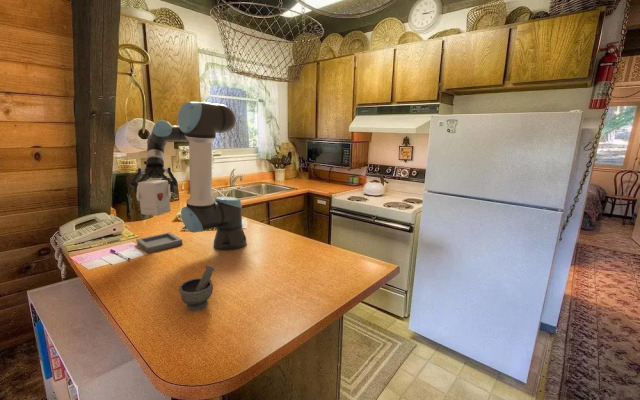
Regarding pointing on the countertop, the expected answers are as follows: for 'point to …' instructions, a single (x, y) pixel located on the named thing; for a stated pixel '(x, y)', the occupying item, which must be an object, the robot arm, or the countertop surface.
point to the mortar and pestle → (197, 290)
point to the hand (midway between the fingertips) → (154, 198)
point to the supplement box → (154, 197)
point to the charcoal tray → (159, 242)
